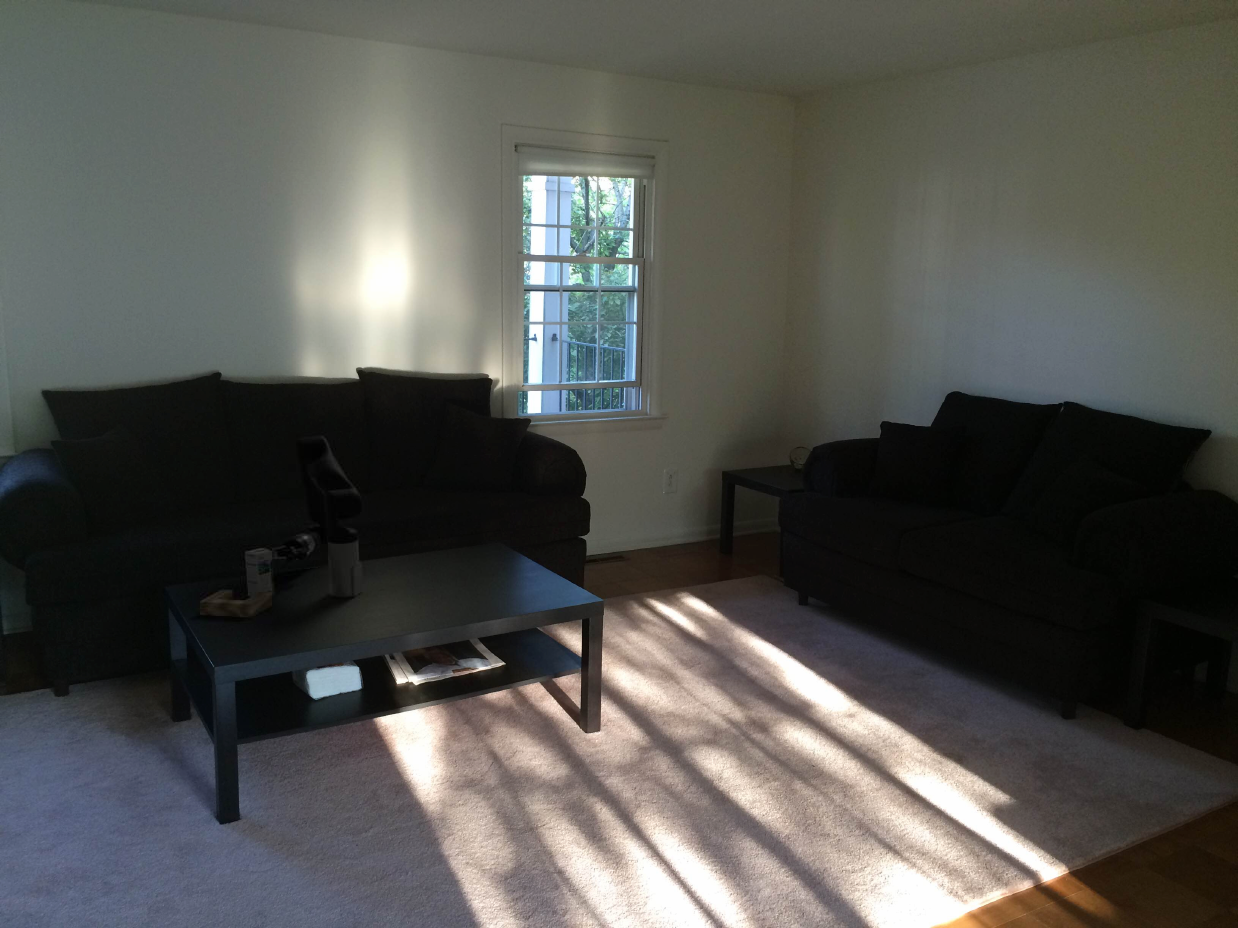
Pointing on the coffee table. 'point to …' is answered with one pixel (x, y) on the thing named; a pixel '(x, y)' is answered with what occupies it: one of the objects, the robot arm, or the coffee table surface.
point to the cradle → (235, 604)
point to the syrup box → (259, 571)
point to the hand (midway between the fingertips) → (275, 559)
